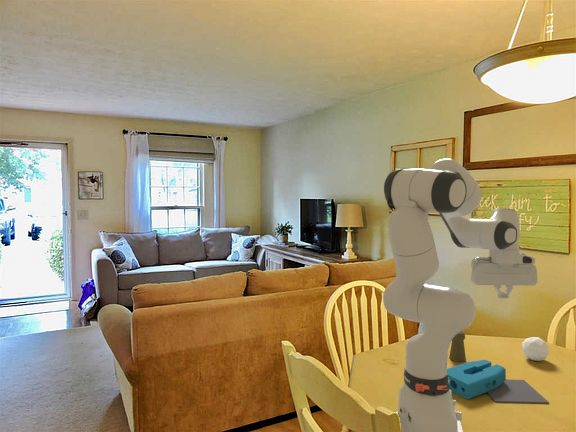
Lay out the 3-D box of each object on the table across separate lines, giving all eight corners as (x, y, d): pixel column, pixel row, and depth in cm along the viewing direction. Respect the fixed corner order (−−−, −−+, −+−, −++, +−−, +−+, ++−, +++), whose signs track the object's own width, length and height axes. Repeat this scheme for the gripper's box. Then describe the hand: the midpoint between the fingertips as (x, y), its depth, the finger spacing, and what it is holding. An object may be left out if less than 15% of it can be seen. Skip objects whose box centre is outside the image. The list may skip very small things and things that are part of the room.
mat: (549, 403, 123) (549, 402, 123) (495, 402, 124) (495, 400, 124) (523, 380, 138) (523, 379, 138) (475, 379, 139) (475, 378, 139)
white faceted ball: (558, 360, 150) (539, 351, 162) (549, 336, 151) (531, 329, 163) (535, 367, 151) (518, 358, 163) (526, 343, 151) (510, 336, 163)
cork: (468, 362, 154) (469, 333, 153) (452, 362, 154) (453, 333, 154) (462, 355, 160) (462, 328, 160) (446, 355, 160) (447, 328, 160)
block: (479, 370, 145) (439, 384, 136) (479, 357, 145) (438, 370, 136) (510, 384, 134) (469, 400, 125) (510, 369, 134) (469, 385, 125)
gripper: (475, 258, 132) (474, 299, 132) (540, 258, 130) (539, 300, 131) (468, 255, 138) (467, 295, 139) (530, 255, 137) (529, 296, 137)
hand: (503, 298), depth 135 cm, fingers closed
